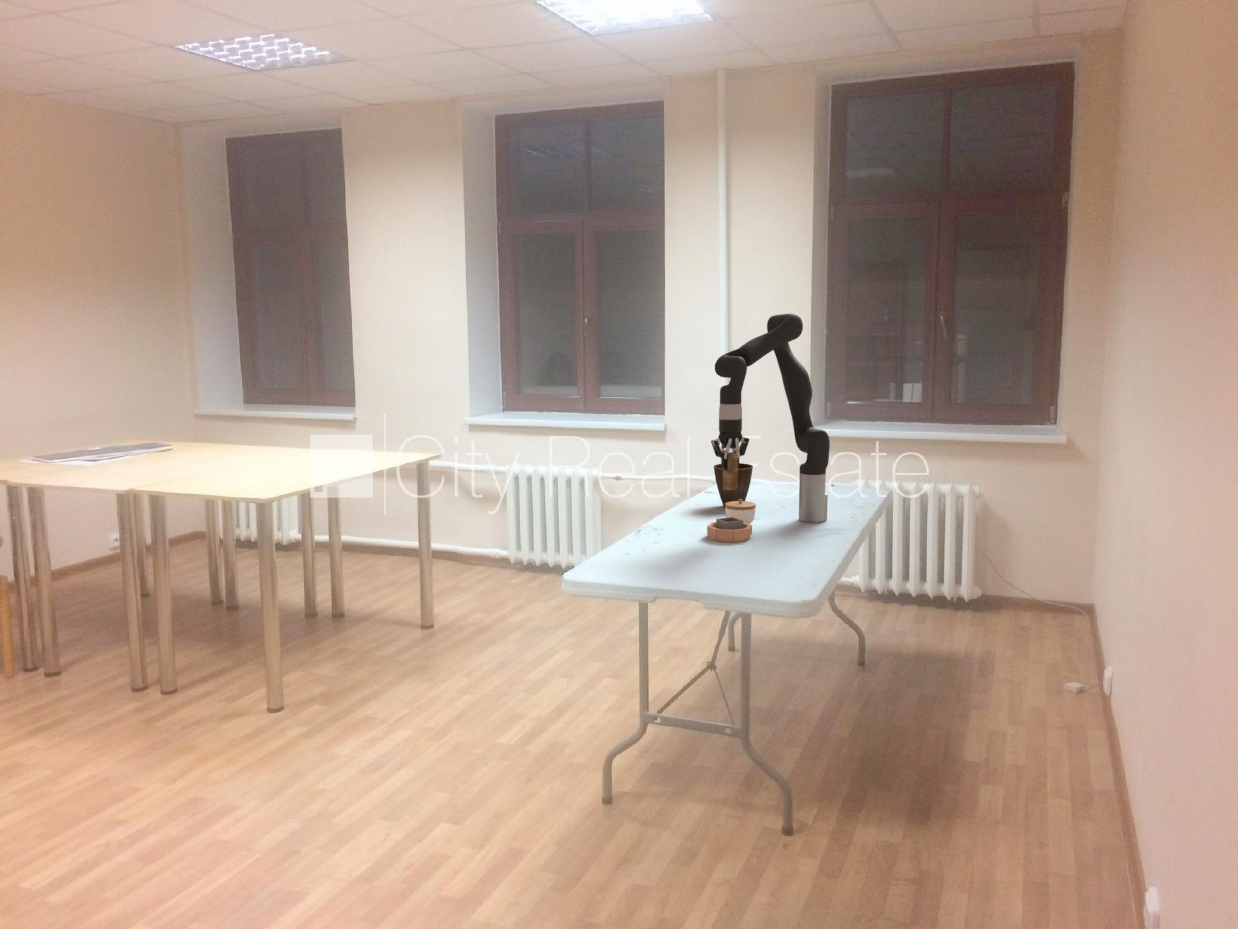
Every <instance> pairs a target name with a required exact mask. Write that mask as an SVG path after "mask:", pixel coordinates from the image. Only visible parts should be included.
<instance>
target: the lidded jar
mask: <svg viewBox="0 0 1238 929" xmlns="http://www.w3.org/2000/svg"><path fill="white" fill-rule="evenodd" d="M756 508H757V505H756V502H752V501H746V500H745V501H742V499H739V501H731V502H727V503H725V507H724V509H725V510H724V511H725V518H729V517H734V518H737V519H740V520H743V522H745V523H747V524H750V525H751V524H752V522H753V521H754V520H755V516H756V515H755V514H756Z"/></svg>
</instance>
